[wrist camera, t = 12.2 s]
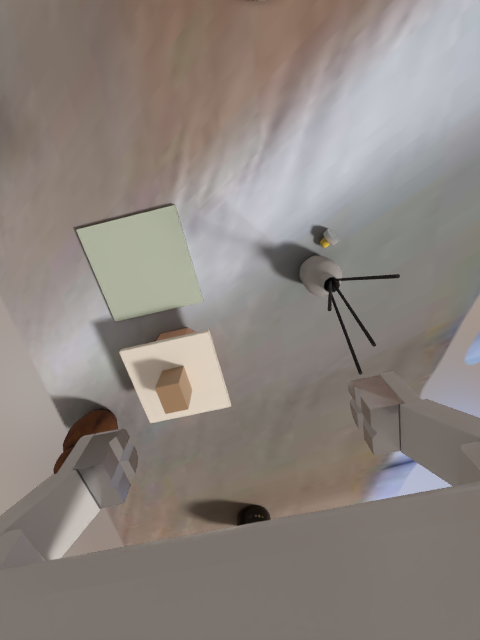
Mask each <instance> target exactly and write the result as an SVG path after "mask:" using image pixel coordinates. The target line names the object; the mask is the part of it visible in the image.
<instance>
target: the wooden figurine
mask: <svg viewBox="0 0 480 640" xmlns="http://www.w3.org/2000/svg"><path fill="white" fill-rule="evenodd" d="M117 429H118V425H117V419H116V417H115V415H114V414H113V413H111V412H110V411H107V410H94V411H92V412H90V413H88V414H86V415H85V416H84V417H82V418H81V419H79V420H78V421H77V422H76V423H75V424H74V425H73V426H72V427H71V429H70V430H69V432H68V434H67V436H66V438H65V440H64V443H63V451H64V452H63V453H62V454H61V455H60V457H59V458H58V460H57V462H56V464H55V467H54V474H57V472H58V471H59V469H60V468H61V466H62V465H63V463H64V462H65V460H66V459H67V457H68V456H69V454H70V453H71V451H72V450H73V448H74V447H75V445H76V444H77V442H78V441H79V439H80V438H81V437H83V436H86V435H91V434H97V433H101V432H106V431H112V430H117Z"/></svg>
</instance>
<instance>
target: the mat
mask: <svg viewBox="0 0 480 640" xmlns="http://www.w3.org/2000/svg"><path fill="white" fill-rule="evenodd" d="M76 231H77V233H78V236H79V238H80V240H81V243H82V245H83V247H84V250H85V252H86V254H87V257H88V259H89V261H90V264H91V266H92V268H93V271H94V273H95V275H96V278H97V280H98V282H99V285H100V287H101V289H102V292H103V294H104V297H105V299H106V301H107V304H108V306H109V308H110V311H111V313H112V315H113V318H114V320H115V322H117V321H122V320H126V319H130V318H135V317H139V316H143V315H148V314H152V313H156V312H161V311H165V310H169V309H174V308H178V307H183V306H187V305H191V304H196V303H200V302H203V298H202V294H201V291H200V288H199V284H198V281H197V277H196V274H195V270H194V267H193V264H192V260H191V257H190V253H189V250H188V247H187V243H186V240H185V236H184V233H183V230H182V226H181V223H180V219H179V216H178V212H177V209H176V206H175V205H172V206H168V207H164V208H160V209H156V210H153V211H149V212H145V213H141V214H137V215H133V216H129V217H125V218H121V219H117V220H113V221H109V222H105V223H101V224H97V225H93V226H89V227H85V228H81V229H77V230H76Z"/></svg>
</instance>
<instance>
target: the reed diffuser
mask: <svg viewBox="0 0 480 640" xmlns="http://www.w3.org/2000/svg"><path fill="white" fill-rule="evenodd" d="M323 235H324V238H323V239H322V240H321V241H320V244H321V246H322V247H324V248H326V247H327V246H328V245H329V244H332V245H335V244H336V243H337V242H339V238H338V237H337V235H336V234H335V233H334V232H333V231H332V230H330V229H327V230H326V231H325V232H324V233H323ZM399 277H400V275H399V274H396V275H382V276H367V277H353V278H342V272H341V269H340V267H339V266H338V265H337V264H336V263H335V262H334V261H332V260H331V259H328V258H326V257H323V256H312V257H310V258H308V259H307V260H305V261H304V263H303V264H302V266H301V268H300V279H301V281H302V283H303V284H304V286H305V287H306V288H307V290H308V291H309V292H311V293H312V294H314V295H317V296H326V295H329V297H328V311H331V302H333V305H334V307H335V310H336V313H337V316H338V318H339V321H340V324H341V326H342V329H343V332H344V335H345V337H346V340H347V343H348V345H349V348H350V351H351V353H352V356H353V359H354V362H355V364H356V367H357V370H358V372H359V374H360V375H361V374H362V371H361V368H360V366H359V363H358V360H357V358H356V355H355V352H354V350H353V347H352V345H351V342H350V339H349V337H348V334H347V332H346V329H345V326H344V324H343V321H342V319H341V316H340V313H339V311H338V308H337V305H336V303H335V300H334V298H333V295H332V293H333V292H335V291H337V292H338V293H339V295H340V296H341V298H342V299H343V301H344V302H345V304H346V306H347V307H348V309H349V310H350V312H351V313H352V315H353V316H354V318H355V319H356V321H357V322H358V324H359V326H360V327H361V329H362V330H363V332H364V333H365V335H366V336H367V338H368V339H369V341H370V343H371V344H372V346H376V344H375V342H374V341H373V339H372V338H371V336H370V335H369V333H368V332H367V330H366V329H365V327H364V326H363V324H362V323H361V321H360V320H359V318H358V317H357V315H356V314H355V312H354V311H353V309H352V308H351V306H350V305H349V303H348V302H347V301H346V299H345V298H344V296H343V295H342V293H341V292H340V290H339V289H338V288H339V286H340V283H341V281H346V280H368V279H389V278H399Z"/></svg>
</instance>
